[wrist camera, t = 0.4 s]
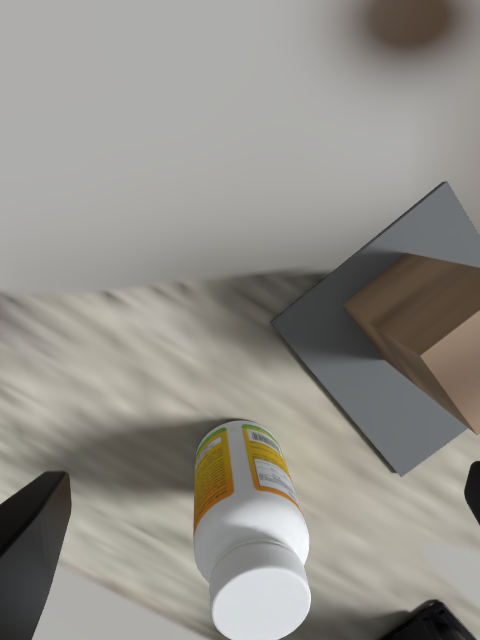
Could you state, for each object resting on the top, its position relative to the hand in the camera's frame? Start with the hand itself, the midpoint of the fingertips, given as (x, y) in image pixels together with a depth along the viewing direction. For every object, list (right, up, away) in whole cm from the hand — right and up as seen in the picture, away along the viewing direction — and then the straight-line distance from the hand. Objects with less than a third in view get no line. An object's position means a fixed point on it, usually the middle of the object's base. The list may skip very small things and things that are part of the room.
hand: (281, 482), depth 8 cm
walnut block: (+8, +4, +14) cm, 16 cm away
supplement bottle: (-1, -5, +16) cm, 17 cm away
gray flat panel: (+10, +2, +15) cm, 18 cm away
